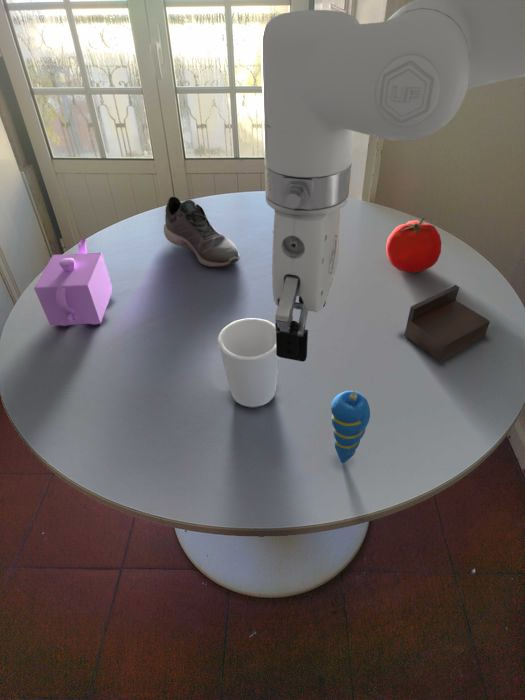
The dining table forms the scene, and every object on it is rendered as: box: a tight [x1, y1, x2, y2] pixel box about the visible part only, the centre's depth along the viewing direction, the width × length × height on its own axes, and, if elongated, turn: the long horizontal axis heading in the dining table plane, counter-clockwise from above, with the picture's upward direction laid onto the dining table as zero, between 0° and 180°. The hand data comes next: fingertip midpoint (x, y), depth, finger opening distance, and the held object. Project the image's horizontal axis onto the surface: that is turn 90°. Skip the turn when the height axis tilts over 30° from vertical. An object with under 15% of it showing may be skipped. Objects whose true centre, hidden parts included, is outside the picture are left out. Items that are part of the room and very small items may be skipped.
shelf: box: [404, 284, 491, 363], centre depth 87 cm, size 9×12×7 cm
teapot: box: [34, 238, 114, 327], centre depth 96 cm, size 20×10×12 cm, turn 2°
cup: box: [217, 317, 281, 410], centre depth 76 cm, size 10×10×13 cm
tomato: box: [385, 217, 442, 274], centre depth 104 cm, size 12×12×11 cm
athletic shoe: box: [163, 196, 241, 268], centre depth 113 cm, size 10×26×12 cm, turn 39°
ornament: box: [330, 390, 371, 464], centre depth 65 cm, size 5×5×15 cm
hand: (302, 329), depth 53 cm, fingers open, 9 cm apart
